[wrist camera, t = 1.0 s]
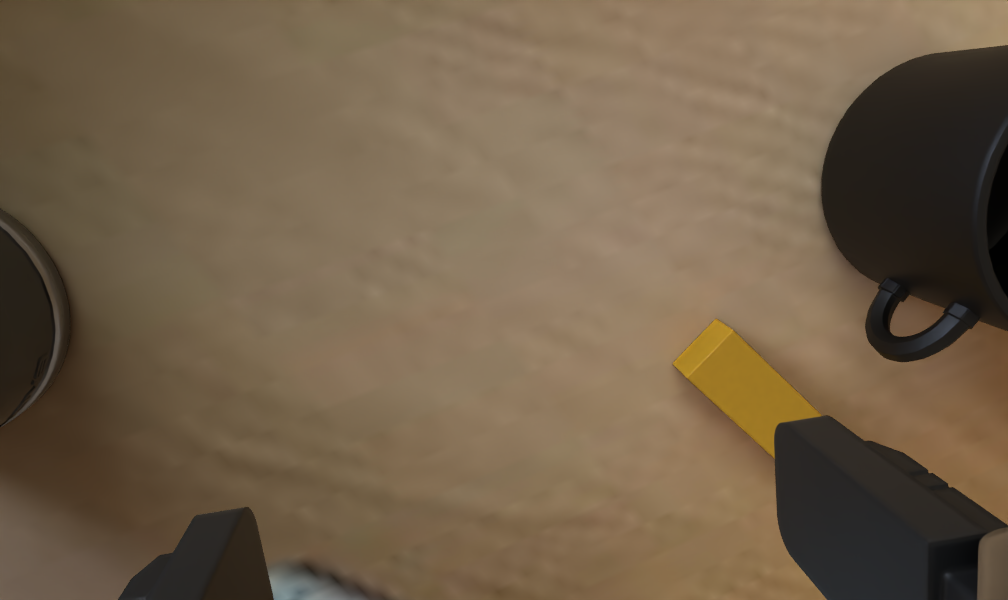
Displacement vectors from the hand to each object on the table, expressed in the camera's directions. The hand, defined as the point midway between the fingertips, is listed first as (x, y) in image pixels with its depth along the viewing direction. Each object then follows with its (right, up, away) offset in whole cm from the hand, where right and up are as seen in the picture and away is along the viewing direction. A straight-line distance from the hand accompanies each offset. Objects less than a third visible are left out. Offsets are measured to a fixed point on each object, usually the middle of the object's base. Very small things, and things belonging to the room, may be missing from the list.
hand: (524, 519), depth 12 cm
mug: (+16, +7, +20) cm, 27 cm away
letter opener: (+15, -5, +22) cm, 27 cm away
